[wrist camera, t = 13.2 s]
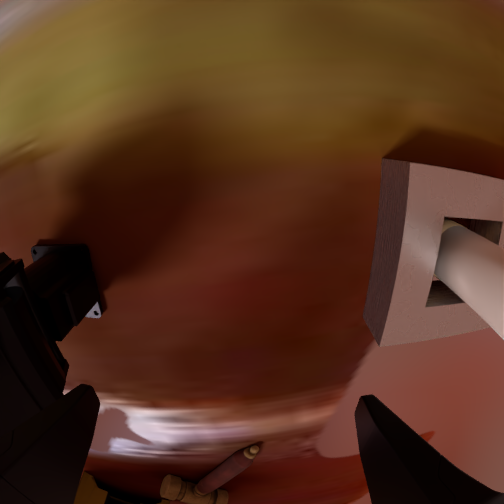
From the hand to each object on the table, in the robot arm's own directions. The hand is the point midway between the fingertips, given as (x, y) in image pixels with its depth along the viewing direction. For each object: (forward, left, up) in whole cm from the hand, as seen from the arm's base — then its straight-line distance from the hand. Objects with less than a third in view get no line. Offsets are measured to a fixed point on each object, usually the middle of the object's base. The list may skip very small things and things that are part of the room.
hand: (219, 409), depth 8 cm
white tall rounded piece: (+16, +1, -13) cm, 21 cm away
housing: (+16, +1, -13) cm, 21 cm away
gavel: (-4, -32, -14) cm, 35 cm away
